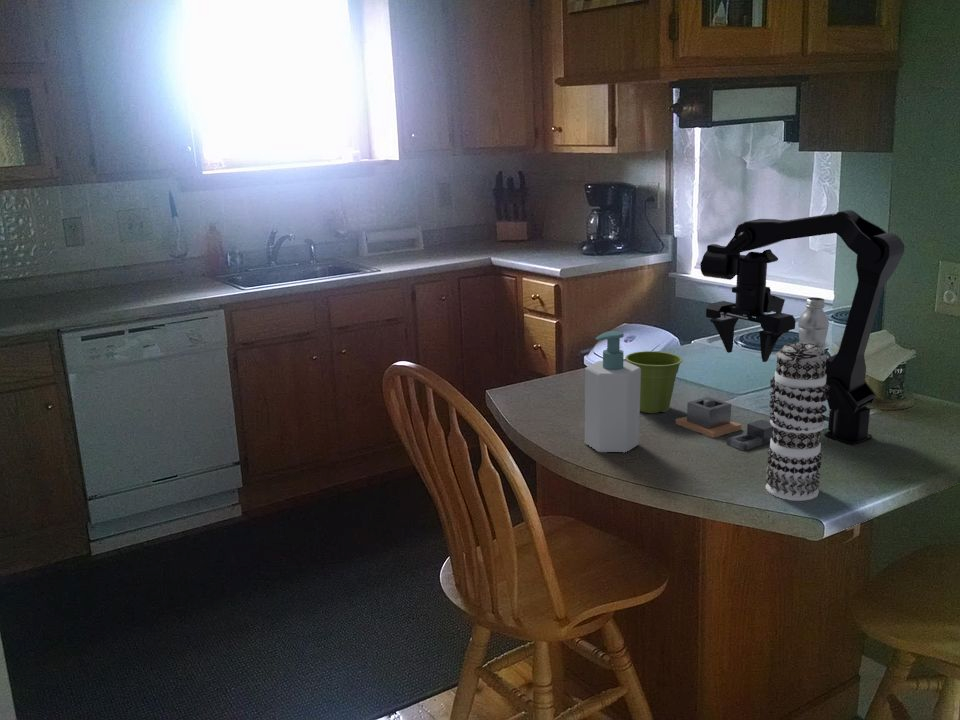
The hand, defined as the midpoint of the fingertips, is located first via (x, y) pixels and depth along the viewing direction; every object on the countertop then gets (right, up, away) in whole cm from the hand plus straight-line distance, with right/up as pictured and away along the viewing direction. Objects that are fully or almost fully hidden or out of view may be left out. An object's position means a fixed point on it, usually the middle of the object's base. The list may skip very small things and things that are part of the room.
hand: (746, 356), depth 189 cm
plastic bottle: (+20, -6, +20) cm, 29 cm away
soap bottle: (-30, -17, -13) cm, 37 cm away
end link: (-9, -13, -5) cm, 17 cm away
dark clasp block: (-3, -16, -14) cm, 22 cm away
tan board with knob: (-9, -14, -5) cm, 17 cm away
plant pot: (-18, -11, +7) cm, 22 cm away
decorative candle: (-3, -23, -35) cm, 42 cm away
